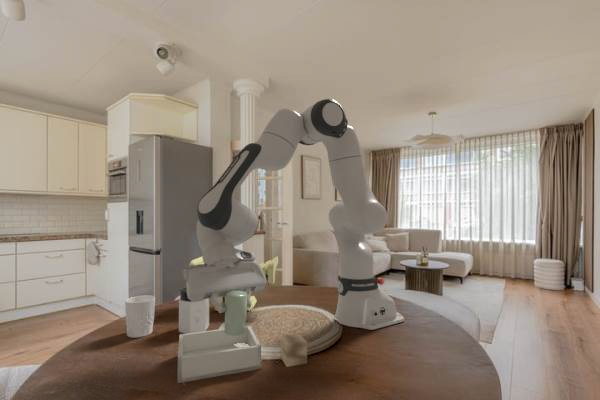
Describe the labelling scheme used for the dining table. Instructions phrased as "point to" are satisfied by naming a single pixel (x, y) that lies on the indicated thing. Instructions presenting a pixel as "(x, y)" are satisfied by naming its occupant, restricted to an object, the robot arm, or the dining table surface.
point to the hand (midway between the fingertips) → (235, 309)
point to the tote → (216, 354)
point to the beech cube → (293, 350)
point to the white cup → (139, 315)
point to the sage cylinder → (235, 313)
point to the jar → (192, 314)
